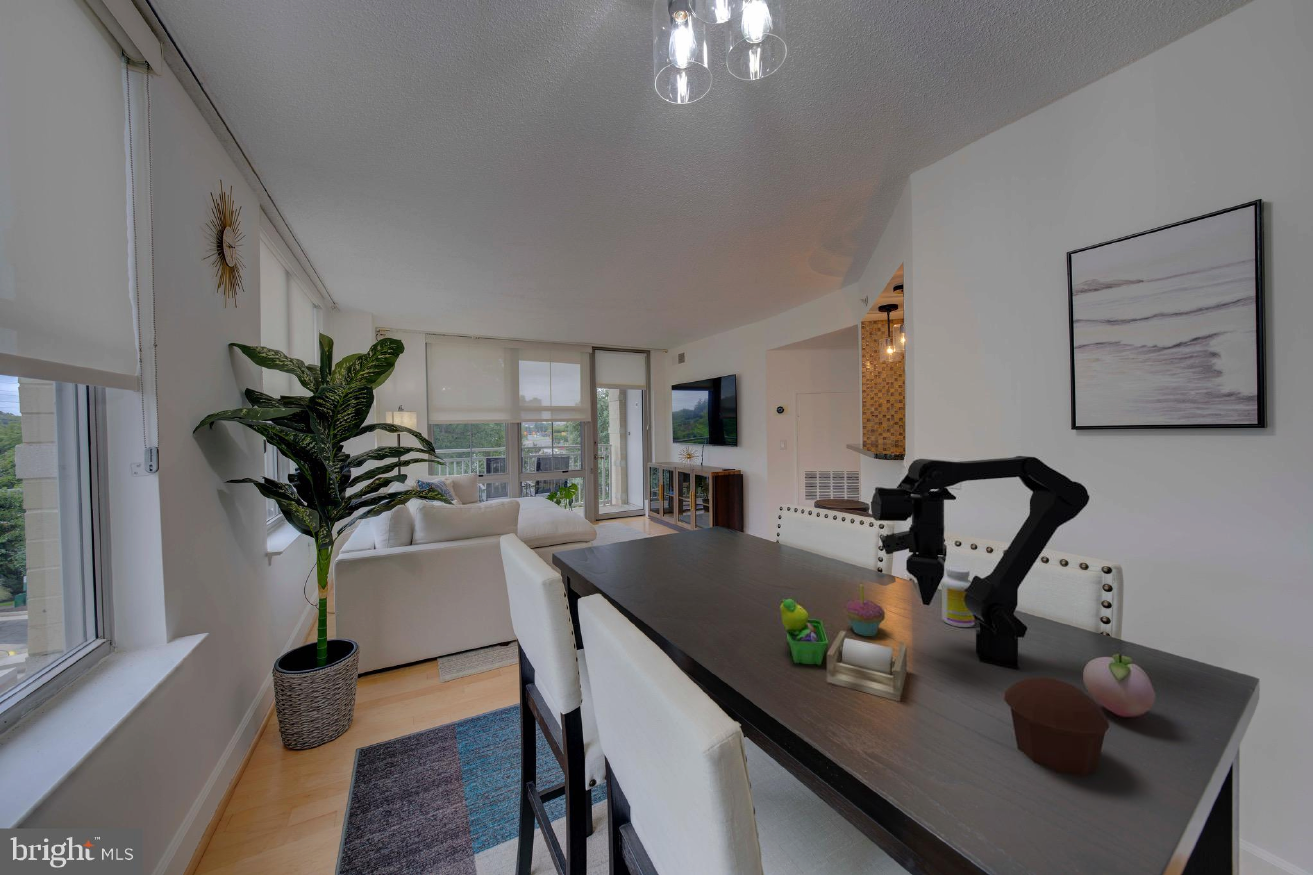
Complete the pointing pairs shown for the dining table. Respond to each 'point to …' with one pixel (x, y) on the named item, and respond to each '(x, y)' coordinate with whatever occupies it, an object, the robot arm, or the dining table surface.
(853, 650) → the paper roll
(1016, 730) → the muffin
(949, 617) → the supplement bottle
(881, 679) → the roll cradle
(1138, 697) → the decorative fruit
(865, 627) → the cupcake
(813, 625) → the fruit basket
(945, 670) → the dining table surface
